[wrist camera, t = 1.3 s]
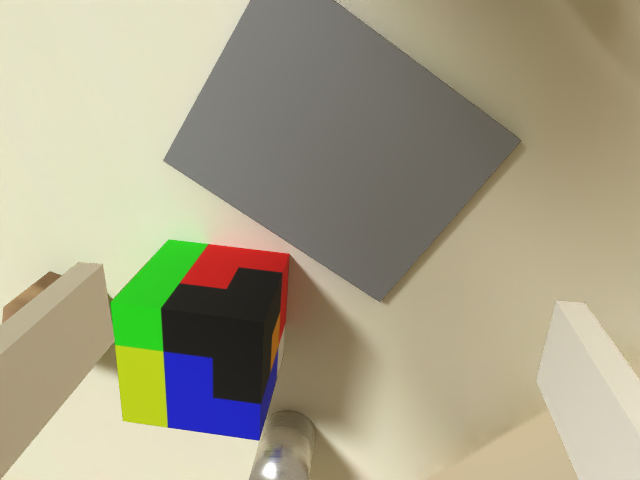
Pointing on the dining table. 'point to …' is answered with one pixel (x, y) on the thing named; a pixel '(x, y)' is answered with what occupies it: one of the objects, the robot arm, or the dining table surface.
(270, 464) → the grey metal cylinder
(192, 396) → the puzzle toy
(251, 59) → the charcoal mat
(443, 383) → the dining table surface
